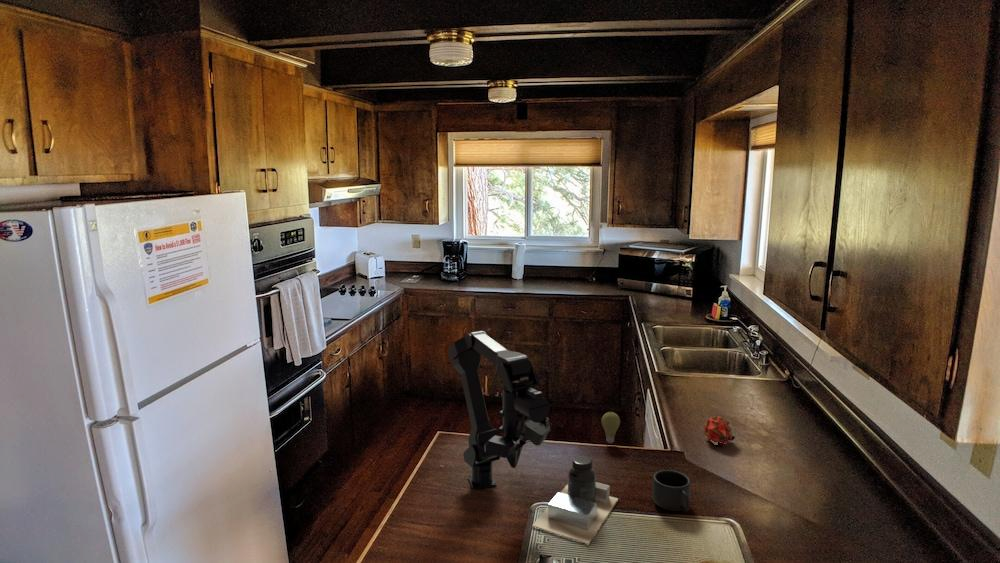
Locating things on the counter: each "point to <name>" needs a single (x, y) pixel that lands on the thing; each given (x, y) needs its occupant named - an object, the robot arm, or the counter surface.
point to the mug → (671, 490)
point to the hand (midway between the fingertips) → (513, 467)
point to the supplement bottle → (582, 479)
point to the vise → (578, 533)
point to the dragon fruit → (718, 430)
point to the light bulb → (610, 425)
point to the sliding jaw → (572, 510)
